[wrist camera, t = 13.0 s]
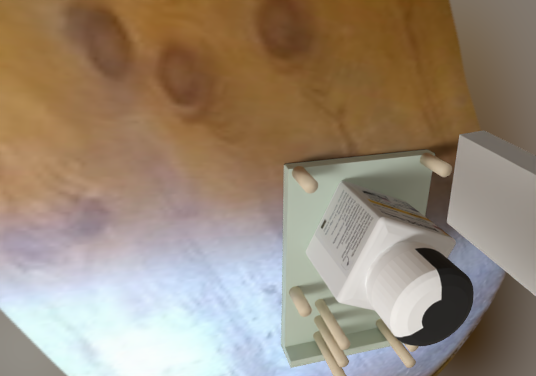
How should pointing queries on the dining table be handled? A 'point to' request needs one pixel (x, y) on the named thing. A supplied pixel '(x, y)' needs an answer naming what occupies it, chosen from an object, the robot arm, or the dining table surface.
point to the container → (391, 264)
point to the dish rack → (307, 277)
